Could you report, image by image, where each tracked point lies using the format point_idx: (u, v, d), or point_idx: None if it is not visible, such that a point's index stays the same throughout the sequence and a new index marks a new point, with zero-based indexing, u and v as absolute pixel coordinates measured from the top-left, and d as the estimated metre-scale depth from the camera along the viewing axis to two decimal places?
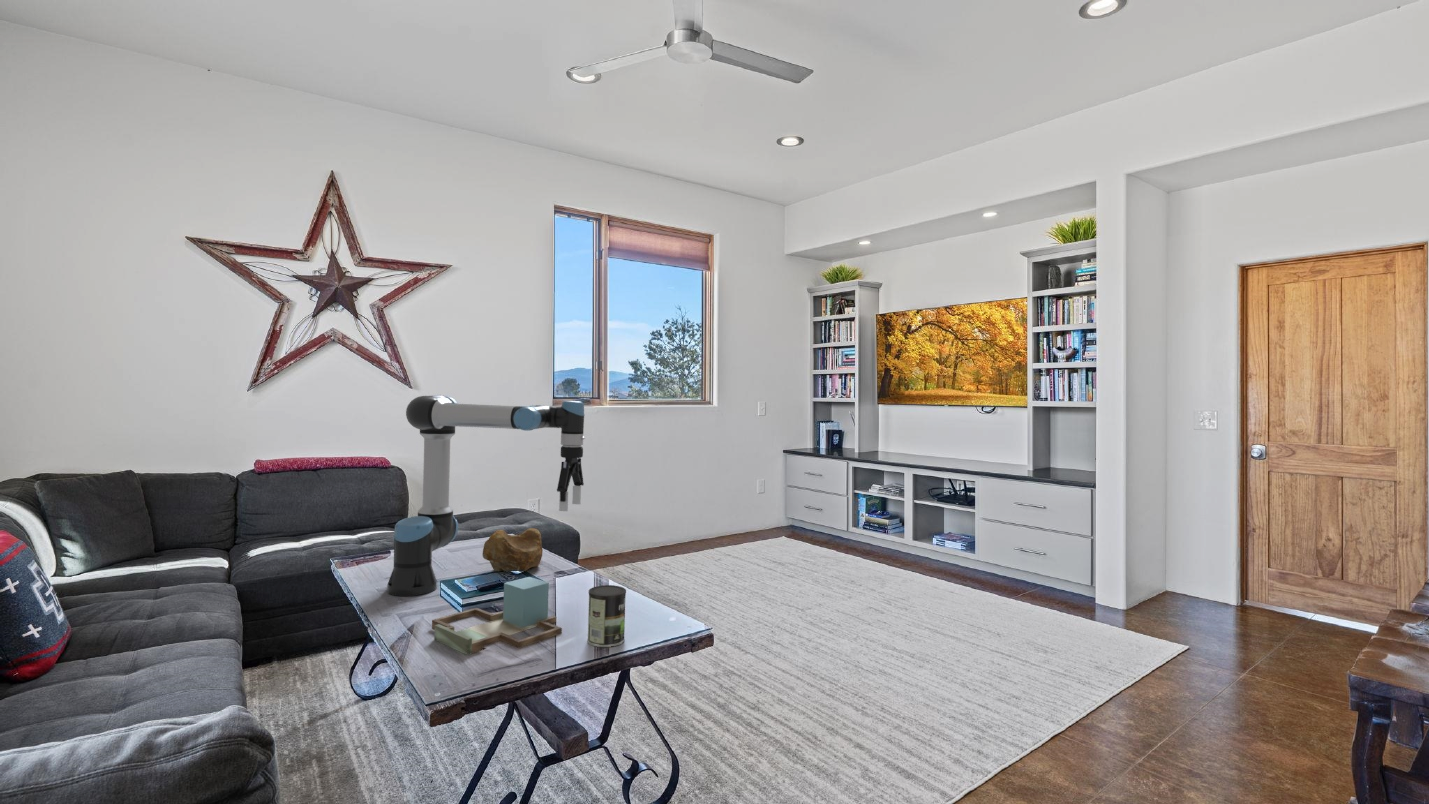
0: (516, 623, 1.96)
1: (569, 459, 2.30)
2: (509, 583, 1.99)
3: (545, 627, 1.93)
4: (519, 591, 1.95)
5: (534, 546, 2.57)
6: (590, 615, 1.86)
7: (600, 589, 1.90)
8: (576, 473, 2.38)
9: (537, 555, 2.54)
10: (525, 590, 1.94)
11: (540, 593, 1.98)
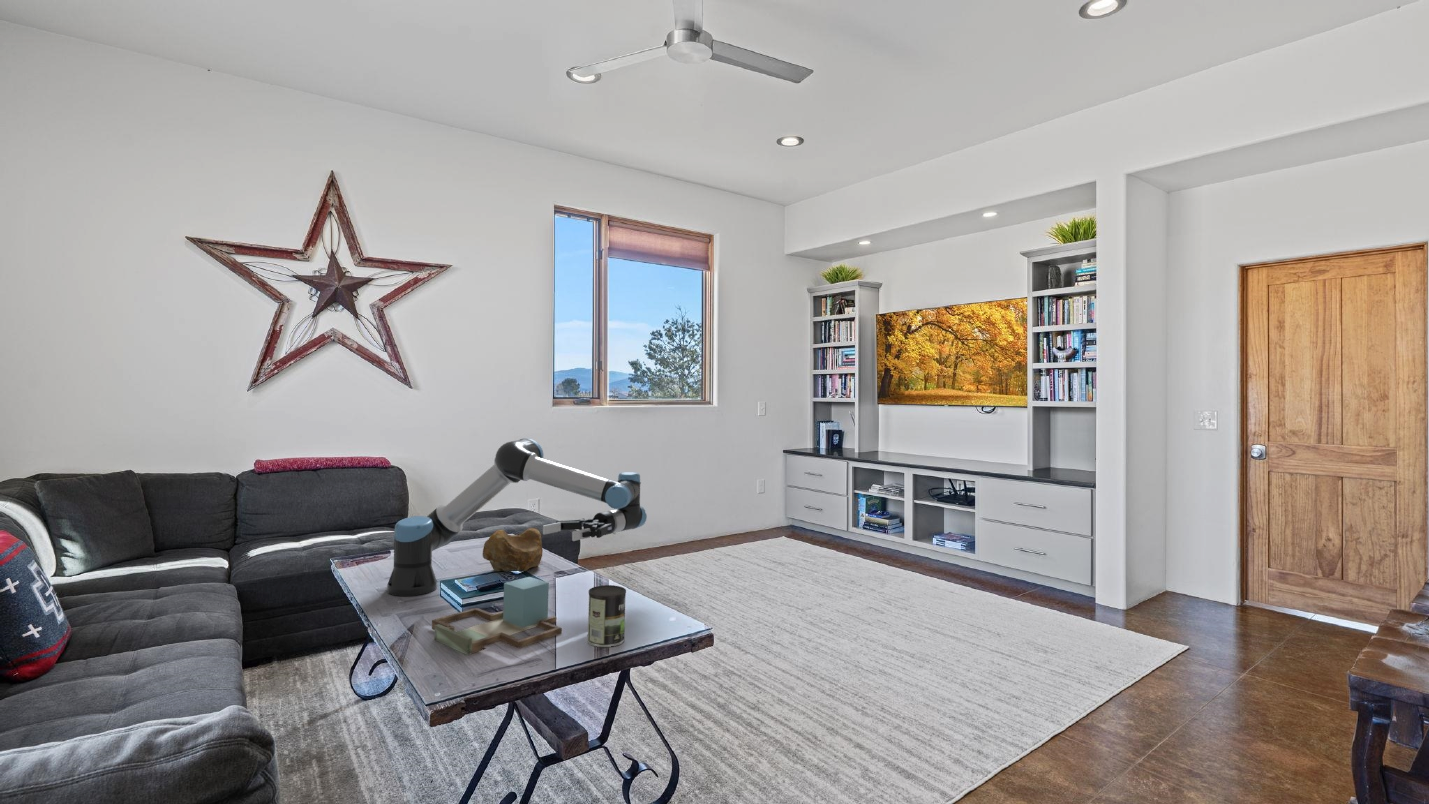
0: (516, 623, 1.96)
1: None
2: (509, 583, 1.99)
3: (545, 627, 1.93)
4: (519, 591, 1.95)
5: (534, 546, 2.57)
6: (590, 615, 1.86)
7: (600, 589, 1.90)
8: (578, 528, 2.20)
9: (537, 555, 2.54)
10: (525, 590, 1.94)
11: (540, 593, 1.98)
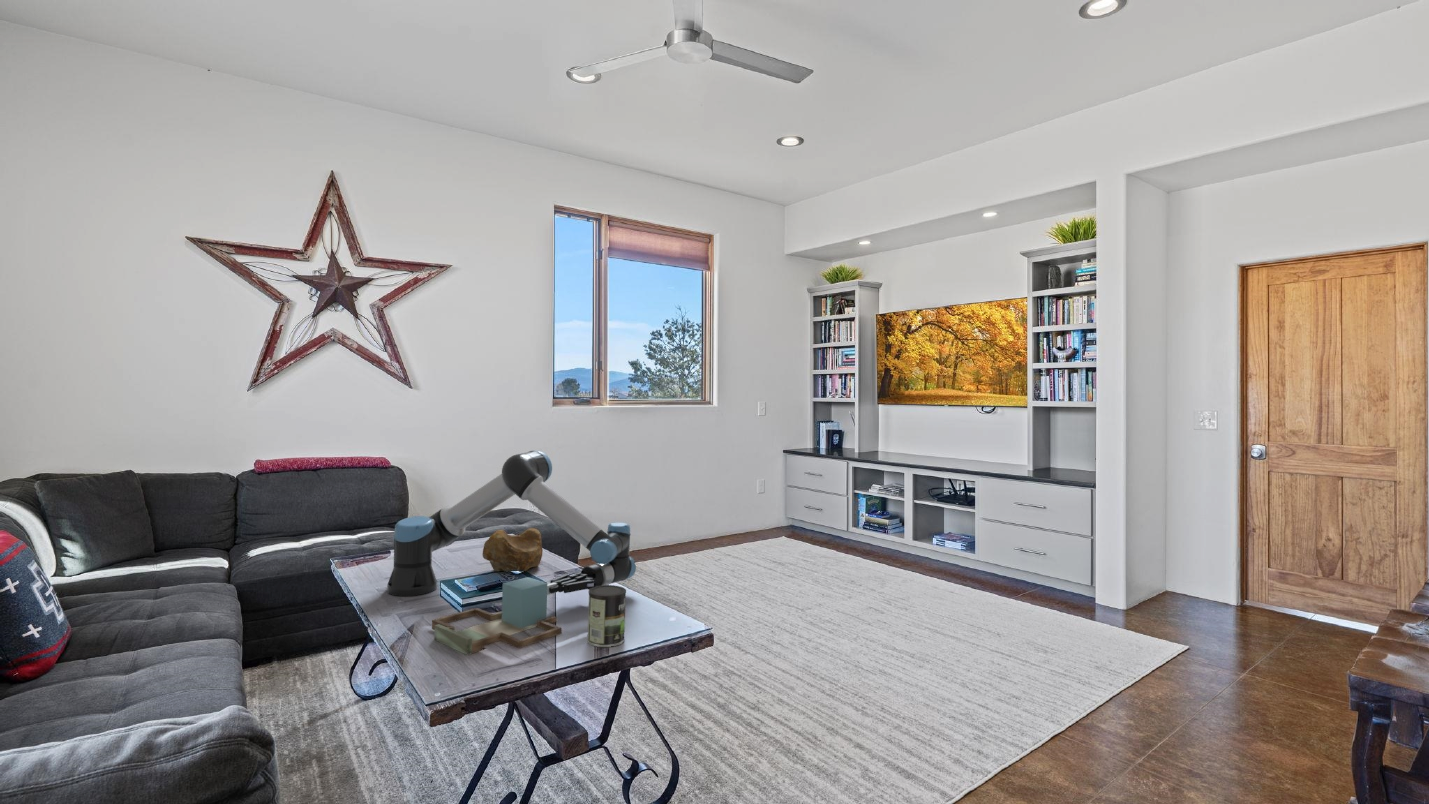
0: (515, 624, 1.95)
1: (594, 582, 2.17)
2: (508, 583, 1.98)
3: (545, 627, 1.93)
4: (517, 591, 1.94)
5: (534, 546, 2.57)
6: (590, 615, 1.86)
7: (600, 589, 1.90)
8: None
9: (537, 555, 2.54)
10: (524, 590, 1.94)
11: (538, 594, 1.98)
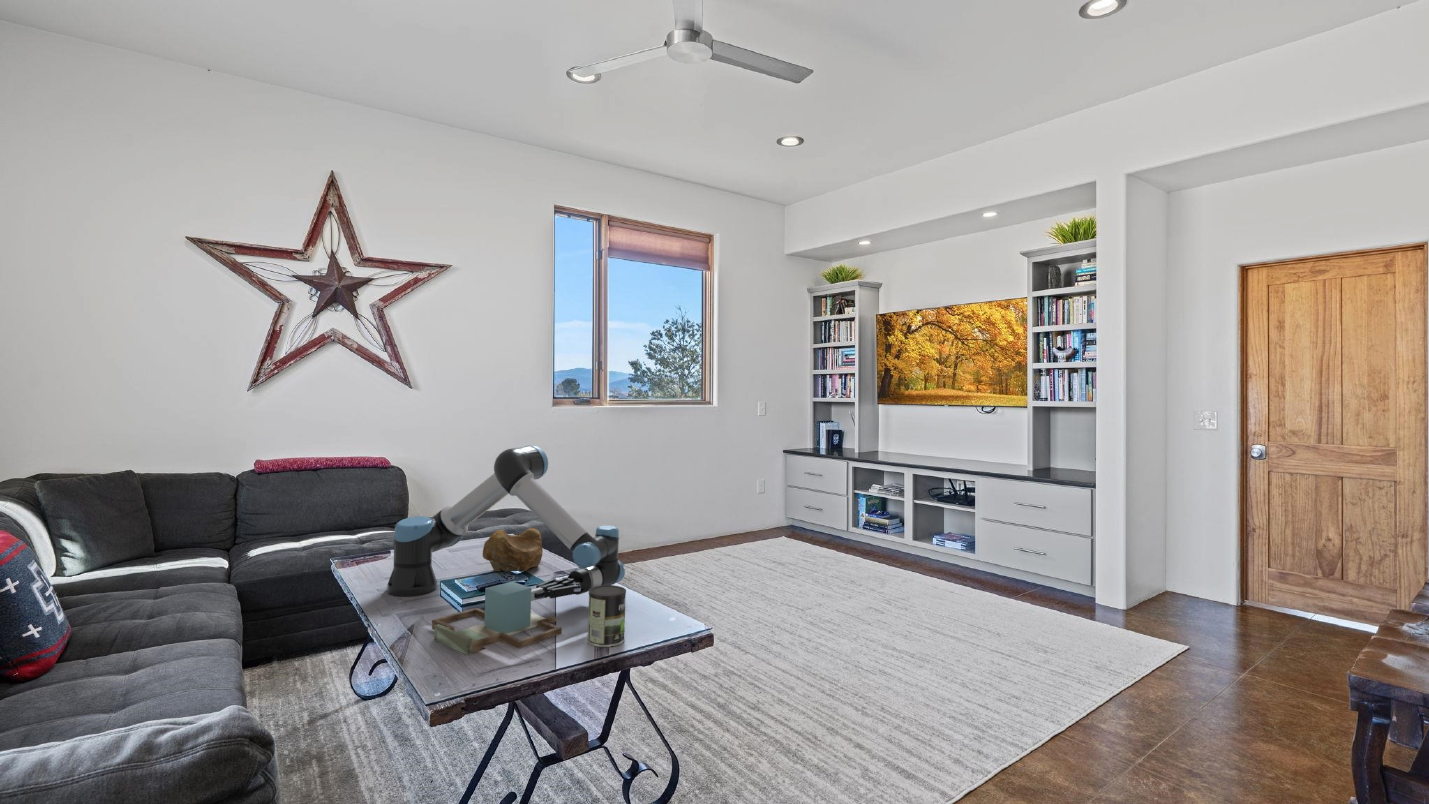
0: (497, 629, 1.90)
1: (582, 587, 2.11)
2: (490, 588, 1.93)
3: (545, 627, 1.93)
4: (500, 596, 1.89)
5: (534, 546, 2.57)
6: (590, 615, 1.86)
7: (600, 589, 1.90)
8: None
9: (537, 555, 2.54)
10: (506, 596, 1.89)
11: (522, 599, 1.93)
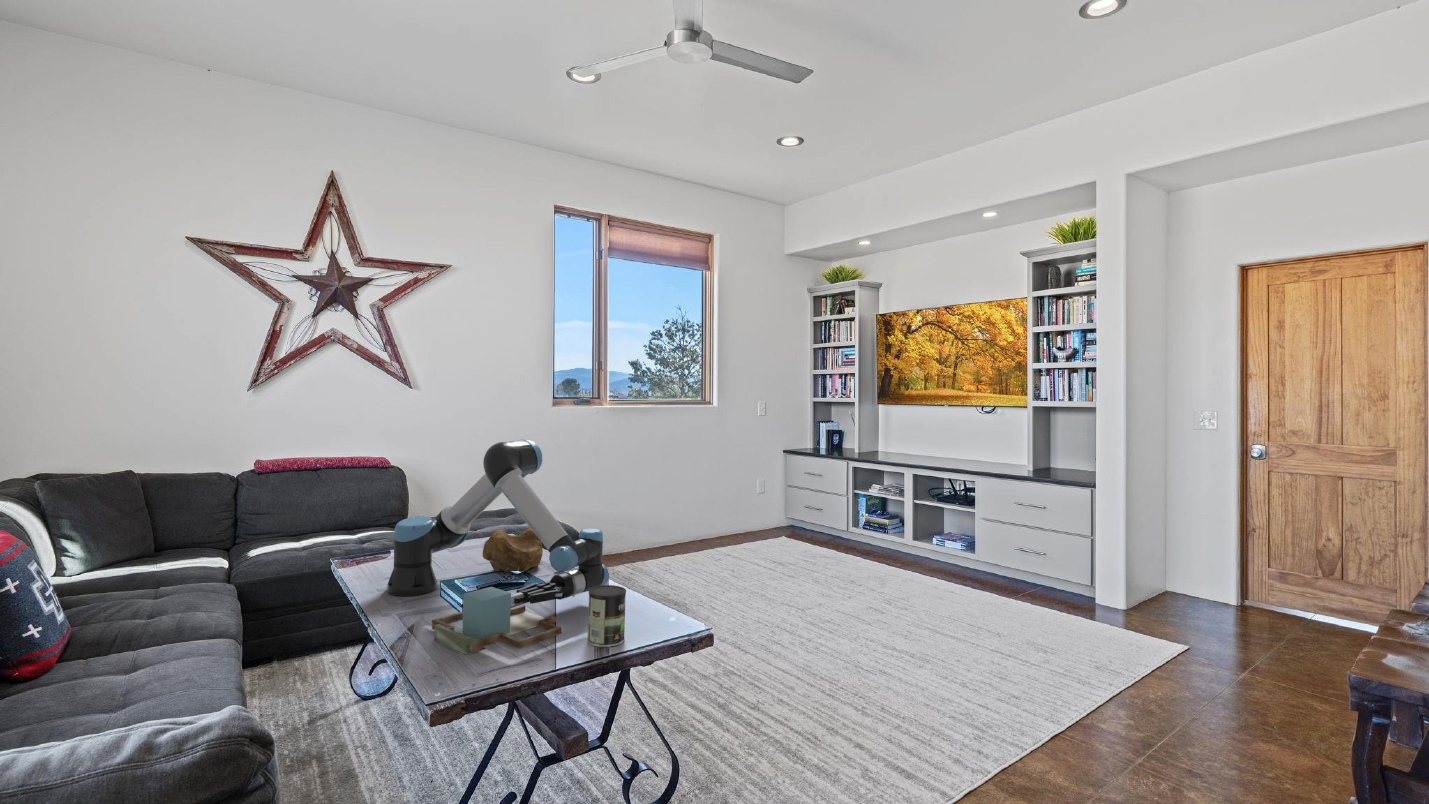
0: (475, 636, 1.84)
1: (564, 592, 2.06)
2: (469, 594, 1.88)
3: (545, 627, 1.93)
4: (478, 602, 1.84)
5: (534, 546, 2.57)
6: (590, 615, 1.86)
7: (600, 589, 1.90)
8: None
9: (537, 555, 2.54)
10: (484, 601, 1.83)
11: (501, 605, 1.87)
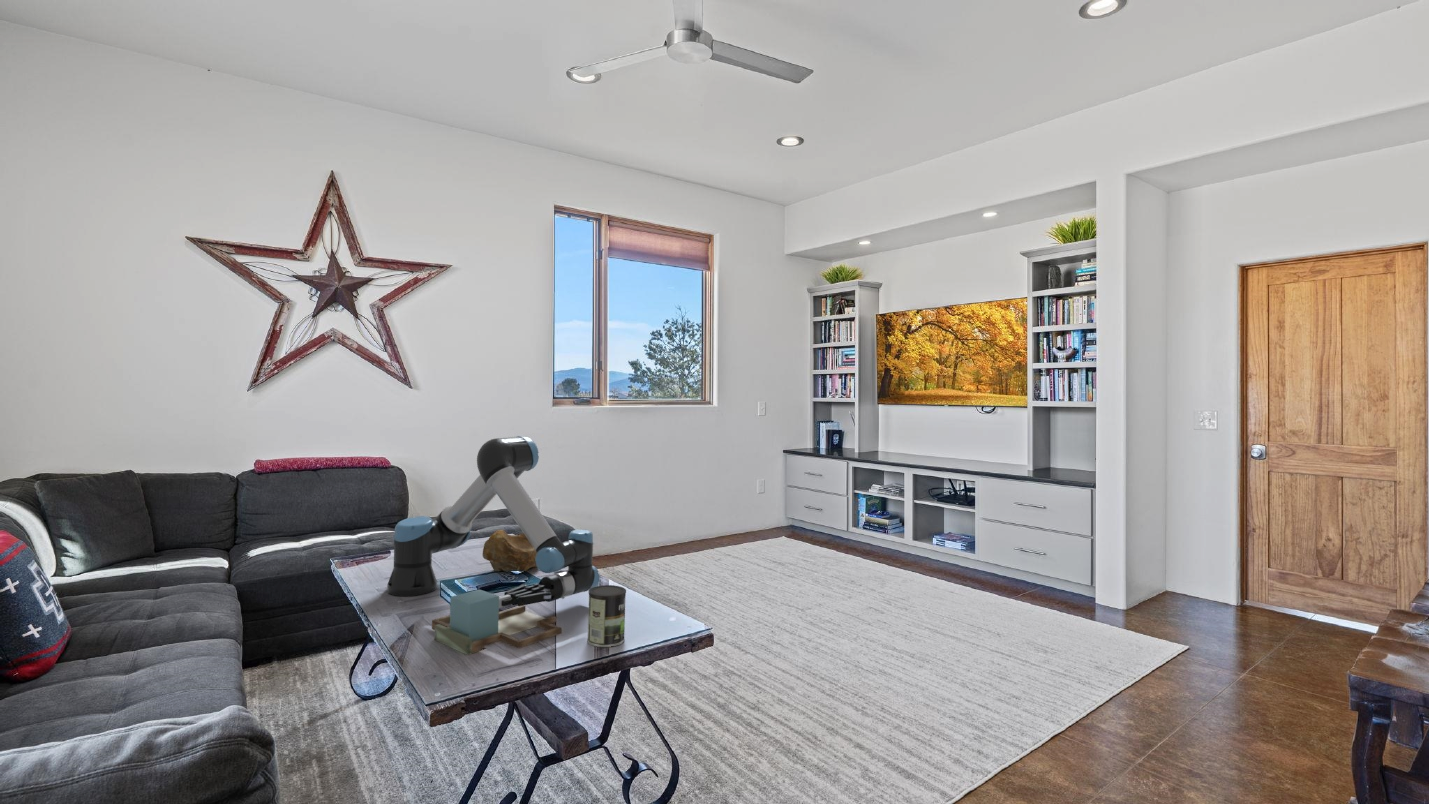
0: None
1: (553, 594, 2.03)
2: (456, 597, 1.85)
3: (545, 627, 1.93)
4: (465, 605, 1.81)
5: None
6: (590, 615, 1.86)
7: (600, 589, 1.90)
8: None
9: None
10: (472, 605, 1.80)
11: (489, 608, 1.85)
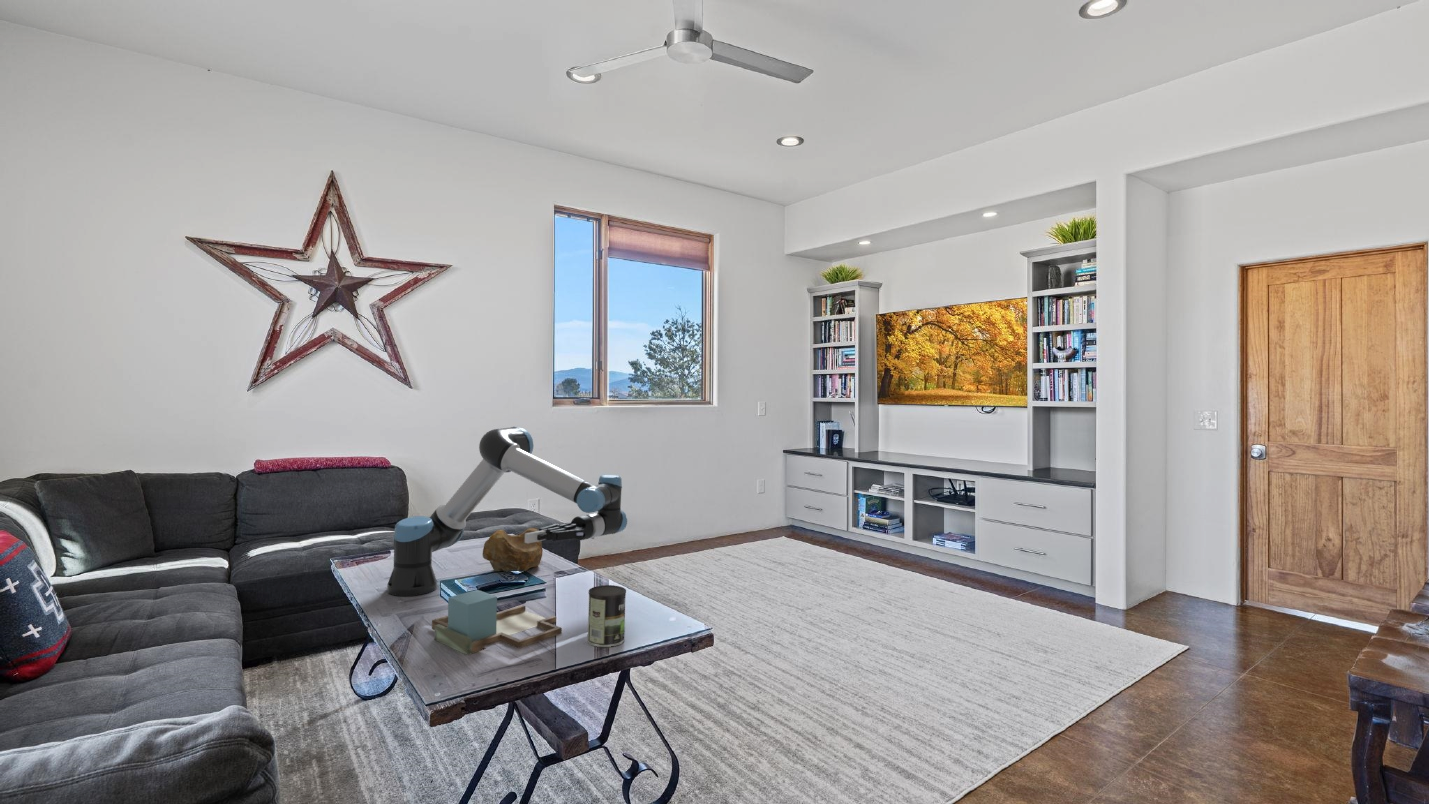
0: None
1: (584, 532, 2.12)
2: (454, 597, 1.84)
3: (545, 627, 1.93)
4: (463, 606, 1.80)
5: (534, 546, 2.57)
6: (590, 615, 1.86)
7: (600, 589, 1.90)
8: None
9: (537, 555, 2.54)
10: (470, 605, 1.80)
11: (487, 608, 1.84)
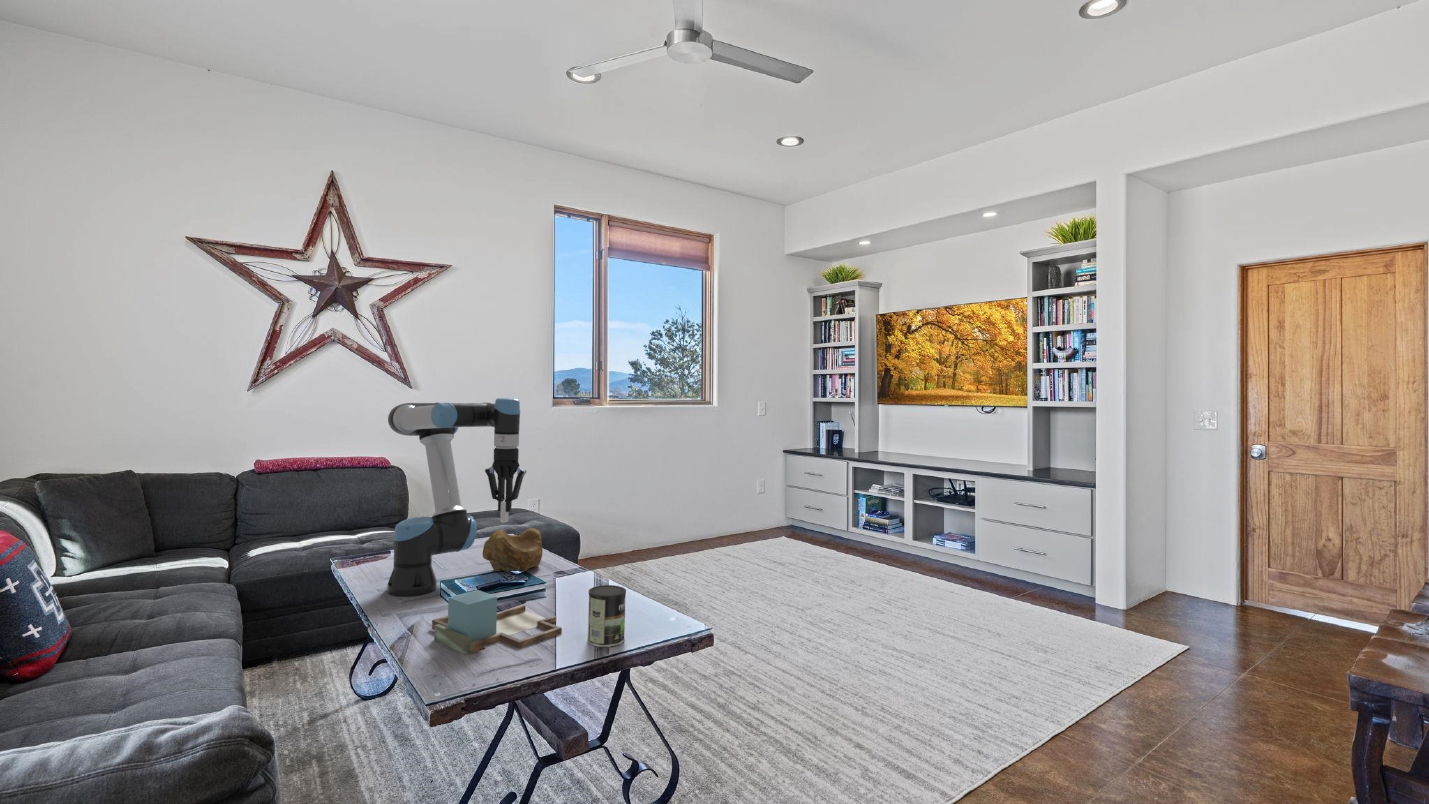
0: None
1: None
2: (454, 597, 1.84)
3: (545, 627, 1.93)
4: (463, 606, 1.80)
5: (534, 546, 2.57)
6: (590, 615, 1.86)
7: (600, 589, 1.90)
8: None
9: (537, 555, 2.54)
10: (470, 605, 1.80)
11: (487, 608, 1.84)
